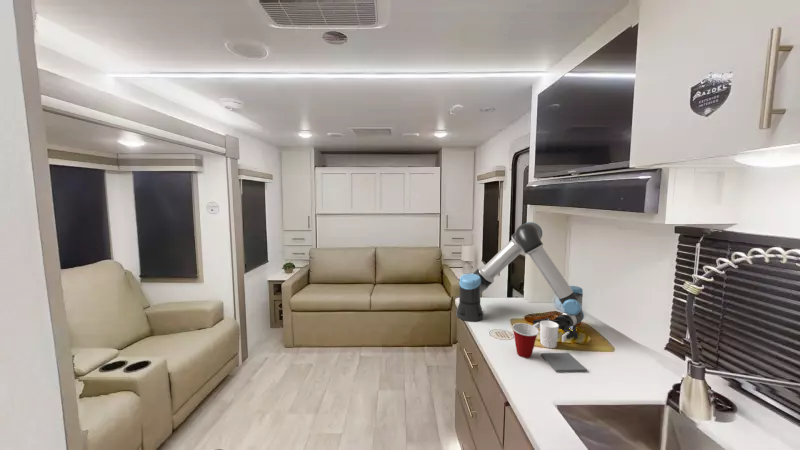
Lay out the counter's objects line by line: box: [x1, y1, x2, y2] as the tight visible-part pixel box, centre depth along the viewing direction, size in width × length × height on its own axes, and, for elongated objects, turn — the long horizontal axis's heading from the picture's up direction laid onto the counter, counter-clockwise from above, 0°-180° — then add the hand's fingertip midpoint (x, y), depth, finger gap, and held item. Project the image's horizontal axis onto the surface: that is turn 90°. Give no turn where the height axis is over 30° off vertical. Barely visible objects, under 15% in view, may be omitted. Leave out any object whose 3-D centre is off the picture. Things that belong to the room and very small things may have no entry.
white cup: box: [539, 321, 560, 349], centre depth 143 cm, size 8×8×10 cm
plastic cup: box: [511, 322, 540, 359], centre depth 134 cm, size 11×11×12 cm
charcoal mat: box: [540, 352, 588, 373], centre depth 128 cm, size 13×12×1 cm
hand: (546, 333), depth 142 cm, fingers open, 13 cm apart
